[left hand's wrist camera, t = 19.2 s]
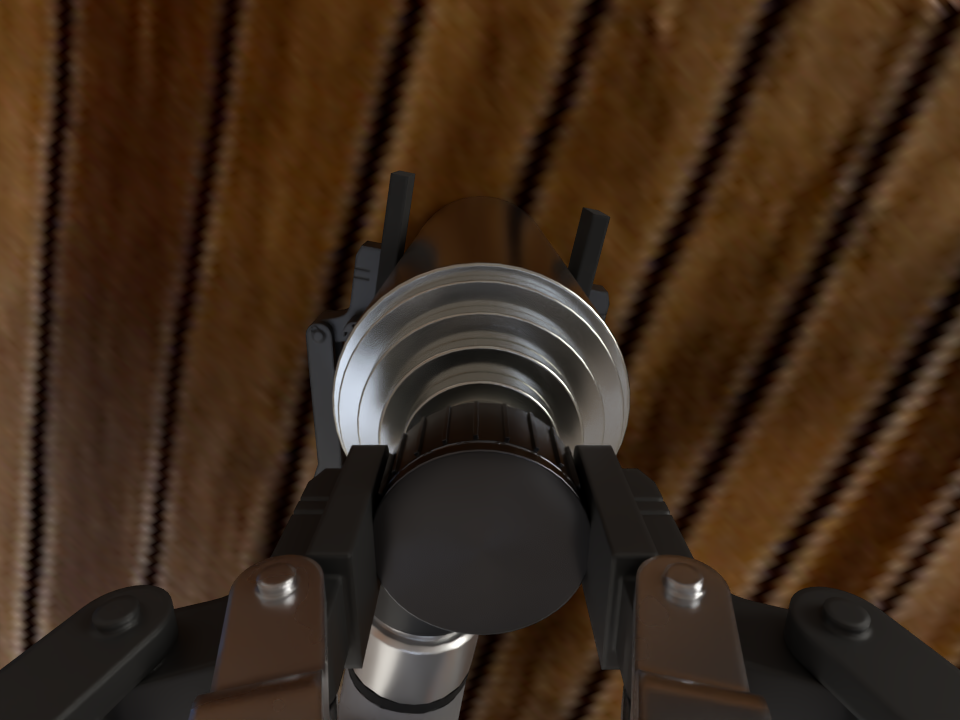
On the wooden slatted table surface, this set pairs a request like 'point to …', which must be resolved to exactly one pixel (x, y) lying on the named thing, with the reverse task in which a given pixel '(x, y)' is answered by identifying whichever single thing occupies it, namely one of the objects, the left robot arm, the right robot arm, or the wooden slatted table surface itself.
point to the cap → (481, 520)
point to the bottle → (480, 335)
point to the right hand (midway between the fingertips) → (500, 193)
